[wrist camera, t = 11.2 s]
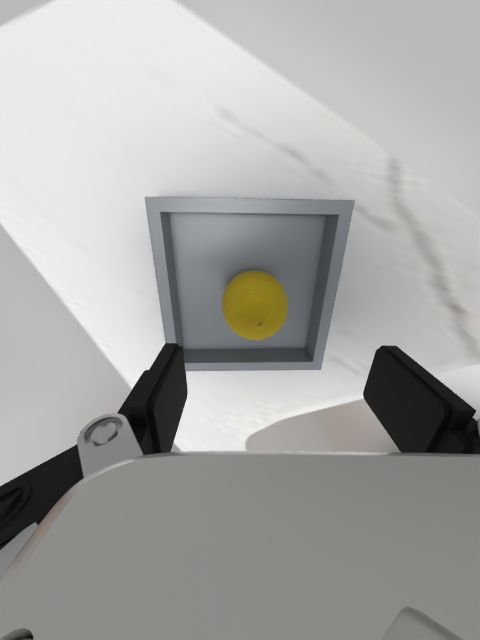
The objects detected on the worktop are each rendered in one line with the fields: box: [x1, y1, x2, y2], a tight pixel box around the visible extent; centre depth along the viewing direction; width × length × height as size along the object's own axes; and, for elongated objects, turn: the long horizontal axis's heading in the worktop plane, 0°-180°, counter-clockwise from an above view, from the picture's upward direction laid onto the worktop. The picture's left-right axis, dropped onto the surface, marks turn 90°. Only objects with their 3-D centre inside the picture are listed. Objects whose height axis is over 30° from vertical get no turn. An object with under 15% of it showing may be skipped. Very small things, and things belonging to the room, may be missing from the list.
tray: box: [145, 197, 355, 371], centre depth 22 cm, size 16×16×4 cm
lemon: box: [222, 270, 288, 340], centre depth 19 cm, size 6×6×8 cm
